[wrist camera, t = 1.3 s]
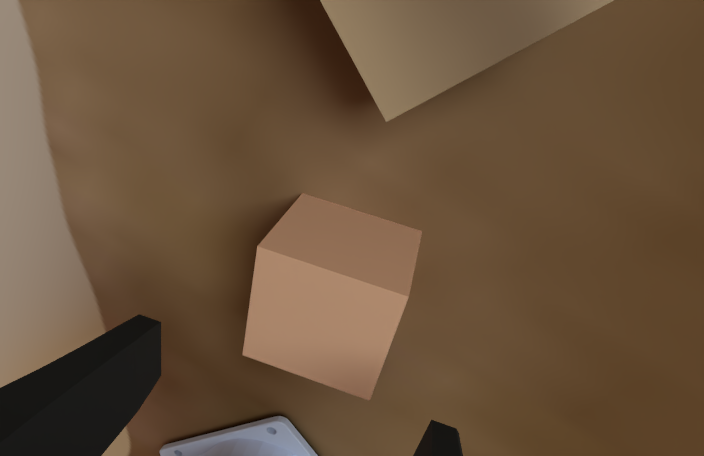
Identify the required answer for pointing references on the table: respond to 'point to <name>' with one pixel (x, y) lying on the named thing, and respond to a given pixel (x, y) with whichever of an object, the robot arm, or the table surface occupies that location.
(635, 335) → the table surface
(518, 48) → the slab upper
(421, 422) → the table surface
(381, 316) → the block
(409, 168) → the table surface
